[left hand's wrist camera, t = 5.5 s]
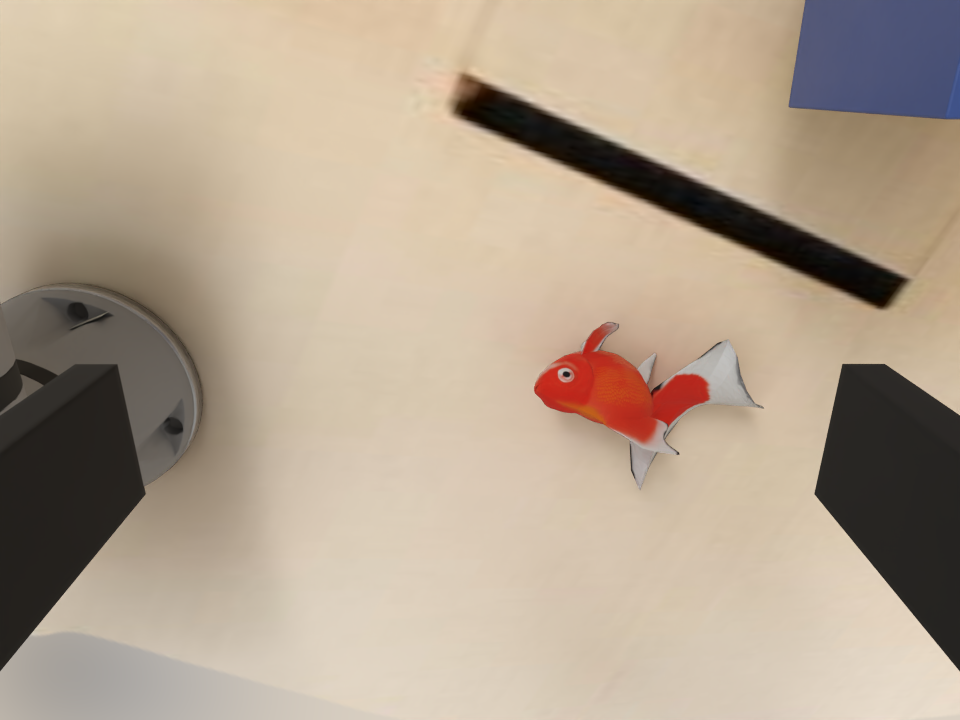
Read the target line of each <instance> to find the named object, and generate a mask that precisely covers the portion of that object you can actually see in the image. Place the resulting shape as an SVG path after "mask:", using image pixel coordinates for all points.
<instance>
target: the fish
mask: <svg viewBox="0 0 960 720" xmlns="http://www.w3.org/2000/svg"><path fill="white" fill-rule="evenodd" d="M618 328H619V324H616V323H613V322H607V323H605V324H603V325H601V326H600V327H599V328H597V329H596V330H594V331H593V332H592V333H591V335H590V336H589V337H588V339H587V340H586V341H585V342H584V343H582V345H581V351H579V352H574V353H572V354H569V355H566V356H563V357H562V358H560V359H558V360H557V361H555V362H553V363H552V364H550V365H549V366H548V367H547V368H546V369H545V370H544V371H543V372H542V373H541V374H540V375H539V377H538V378H537V381H536V384H535V387H534V391H535V394H536V395H537V396H539V397H540V398H541V400H542V401H543V402H544V404H545V405H546V406H547V407H549V408H552V409H555V410H558V411H561V412H567V413H577V414H579V415H581V416H583V417H585V418H587V419H589V420H591V421H594V422H597V423H601V424H604V425H606V426H607V427H608V428H610V429H612V430H614V431H615V432H617V433H619V434H620V435H622V436H624V437H626V438H627V439H629V440H630V457H631V471H632V474H633V476H634V478H635V480H636V483H637V485H638V487H639V490H640V489H641V486H642V484H643V481H644V479H645V476H646V474H647V471H648V469H649V466H650V464H651V463H652V461H653V459H654V457H655V456H656V454H657V452H660V453H667V454H675V455H679V452H677V451H676V450H675V449H673V448H672V447H670V446H669V445H668V444H667V443H666V442H665V438H666V437H667V435H668V434H669V433H670V431H671V430H672V429H673V427H674V426H675V425H676V423H677V422H678V421H679V419H680V418H681V417H683V416H684V415H685V414H686V413H687V412H689V411H690V410H692V409H693V408H695V407H698V406H701V405H704V404H721V405H733V406H749V407H758V408H763V407H762V406H761V405H757V404H755V403H754V401H753V400H752V398H751V397H750V395H749V394H748V392H747V390H746V387H745V385H744V382H743V380H742V377H741V374H740V369H739V363H738V357H737V355H736V353H735V351H734V349H733V347H732V345H731V343H730V341H729V339H728V340H725V341H722V342H720V343H717V344H716V345H715V346H713V347H712V348H711V349H710V350H709V351H707V352H706V353H705V354H704V355H702V356H701V357H700V358H698V359H697V360H695V361H694V362H692V363H691V364H689V365H687V366H686V367H684V368H683V369H682V370H680V371H679V372H677V373H676V374H674V375H673V376H671V377H670V378H668V379H667V380H666V381H664V382H663V383H661V384H660V385H659V386H657V387H656V388H654V389H653V391H652V392H651V393H650V390H649V388H648V386H647V384H648V381H649V378H650V374H651V370H652V367H653V364H654V361H655V358H656V353H654V354H653V355H651V356H650V357H649V358H648V359H646V360H645V361H644V362H643V363H642V364H641V365H640V366H639V367H638V369H636V368H635V367H634V366H633V365H632V364H630V363H629V362H628V361H626V360H625V359H624V358H622V357H620V356H619V355H617V354H614V353H610V352H606V351H601V350H600V347H601V346H602V344H603V342H604V340H605V339H606V338H607V337H608V336H609V335H610V334H611V333H613V332H614V331H616V330H617V329H618ZM763 409H764V408H763Z"/></svg>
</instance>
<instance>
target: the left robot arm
mask: <svg viewBox="0 0 960 720" xmlns="http://www.w3.org/2000/svg"><path fill="white" fill-rule="evenodd" d="M201 414H202V392H201V385H200V381H199V378H198V374H197V371H196V369H195V366H194V364H193V362H192V360H191V358H190V356H189V354H188V352H187V351H186V349H185V347H184V346H183V344H182V343H181V342H180V340H179V339H178V337H177V336H176V335H175V334H174V333H173V332H172V330H171V329H170V328H169V327H168V326H167V325H166V324H165V323H164V322H163V321H162V320H160V319H159V318H158V317H157V316H156V315H154V314H153V313H152V312H150V311H149V310H148V309H146V308H145V307H143V306H142V305H140V304H138V303H137V302H135V301H133V300H131V299H129V298H127V297H125V296H123V295H121V294H118V293H116V292H113V291H111V290H107V289H104V288H100V287H96V286H91V285H85V284H75V283H62V284H52V285H47V286H42V287H38V288H35V289H32V290H30V291H27V292H25V293H23V294H20V295H18V296H16V297H14V298H12V299H10V300H8V301H6V302H4V303H3V304H0V671H1V670H2V668H3V667H4V666H5V665H6V663H7V662H8V661H9V660H10V659H11V657H12V656H13V655H14V654H15V653H16V651H17V650H18V649H19V648H20V646H21V645H22V644H23V643H24V642H25V640H26V639H27V638H28V637H29V635H30V634H31V633H32V632H33V631H34V629H35V628H36V627H37V626H38V624H39V623H40V622H41V621H42V620H43V618H44V617H45V616H46V615H47V614H48V612H49V611H50V610H51V609H52V607H53V606H54V605H55V604H56V603H57V601H58V600H59V599H60V598H61V596H62V595H63V594H64V593H65V592H66V590H67V589H68V588H69V587H70V586H71V584H72V583H73V582H74V581H75V579H76V578H77V577H78V576H79V575H80V573H81V572H82V571H83V570H84V568H85V567H86V566H87V565H88V564H89V562H90V561H91V560H92V559H93V558H94V556H95V555H96V554H97V553H98V551H99V550H100V549H101V548H102V547H103V545H104V544H105V543H106V542H107V540H108V539H109V538H110V537H111V536H112V534H113V533H114V532H115V531H116V529H117V528H118V527H119V526H120V525H121V523H122V522H123V521H124V520H125V519H126V517H127V516H128V515H129V514H130V512H131V511H132V510H133V509H134V508H135V506H136V505H137V504H138V503H139V501H140V500H141V499H142V498H143V497H144V495H145V489H144V486H146V485H148V484H150V483H151V482H153V481H154V480H156V479H157V478H159V477H160V476H161V475H163V474H164V473H165V472H166V471H168V470H169V469H170V468H171V467H172V466H173V465H174V464H175V463H176V462H177V461H178V460H179V458H180V457H181V456H182V455H183V454H184V452H185V451H186V450H187V448H188V447H189V446H190V444H191V442H192V441H193V439H194V437H195V435H196V433H197V430H198V427H199V424H200V420H201ZM815 495H816V497H817V498H818V499H819V500H820V501H821V503H822V504H823V505H824V506H825V508H826V509H827V510H828V511H829V512H830V514H831V515H832V516H833V517H834V519H835V520H836V521H837V522H838V523H839V525H840V526H841V527H842V528H843V529H844V531H845V532H846V533H847V534H848V536H849V537H850V538H851V539H852V540H853V542H854V543H855V544H856V545H857V547H858V548H859V549H860V550H861V551H862V553H863V554H864V555H865V556H866V558H867V559H868V560H869V561H870V562H871V564H872V565H873V566H874V567H875V568H876V570H877V571H878V572H879V573H880V575H881V576H882V577H883V578H884V579H885V581H886V582H887V583H888V584H889V586H890V587H891V588H892V589H893V590H894V592H895V593H896V594H897V595H898V596H899V598H900V599H901V600H902V601H903V603H904V604H905V605H906V606H907V607H908V609H909V610H910V611H911V612H912V614H913V615H914V616H915V617H916V618H917V620H918V621H919V622H920V623H921V624H922V626H923V627H924V628H925V629H926V631H927V632H928V633H929V634H930V635H931V637H932V638H933V639H934V640H935V642H936V643H937V644H938V645H939V646H940V648H941V649H942V650H943V651H944V653H945V654H946V655H947V656H948V657H949V659H950V660H951V661H952V662H953V663H954V665H955V666H956V667H957V668H958V670H959V671H960V415H958V414H957V413H955V412H954V411H953V410H951V409H950V408H948V407H947V406H945V405H944V404H942V403H941V402H939V401H938V400H937V399H935V398H934V397H932V396H931V395H929V394H928V393H926V392H925V391H923V390H922V389H920V388H919V387H918V386H916V385H915V384H913V383H912V382H910V381H909V380H907V379H906V378H904V377H903V376H901V375H900V374H899V373H897V372H896V371H894V370H893V369H891V368H890V367H888V366H887V365H885V364H842V369H841V374H840V378H839V383H838V387H837V392H836V397H835V401H834V406H833V411H832V415H831V420H830V424H829V429H828V434H827V438H826V443H825V448H824V452H823V457H822V461H821V466H820V471H819V475H818V480H817V485H816V489H815Z"/></svg>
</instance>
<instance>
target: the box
mask: <svg viewBox="0 0 960 720" xmlns="http://www.w3.org/2000/svg"><path fill="white" fill-rule="evenodd" d="M789 107H790V108H802V109H816V110H829V111H843V112H856V113H869V114H883V115H896V116H910V117H923V118H937V119H960V0H805V7H804V13H803V19H802V26H801V32H800V38H799V44H798V51H797V57H796V63H795V69H794V76H793V82H792V88H791V94H790V101H789Z"/></svg>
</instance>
